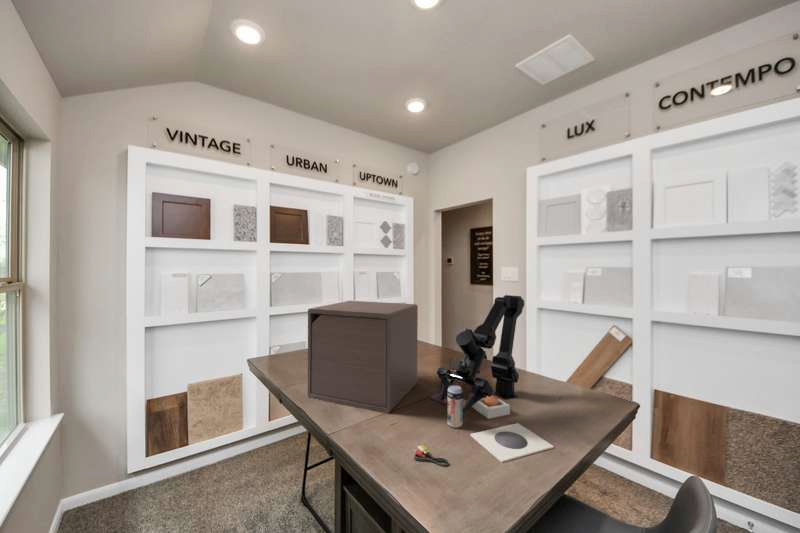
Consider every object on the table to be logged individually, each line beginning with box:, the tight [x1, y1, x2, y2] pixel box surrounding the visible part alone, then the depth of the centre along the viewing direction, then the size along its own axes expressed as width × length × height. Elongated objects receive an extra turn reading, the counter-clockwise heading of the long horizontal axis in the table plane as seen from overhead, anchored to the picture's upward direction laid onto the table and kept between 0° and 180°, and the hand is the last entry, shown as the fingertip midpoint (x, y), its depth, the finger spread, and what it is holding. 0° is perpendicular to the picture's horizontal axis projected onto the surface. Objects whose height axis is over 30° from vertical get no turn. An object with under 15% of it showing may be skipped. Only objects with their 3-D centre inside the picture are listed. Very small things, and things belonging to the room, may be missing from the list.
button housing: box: [471, 398, 511, 420], centre depth 111 cm, size 9×9×3 cm
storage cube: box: [306, 300, 419, 414], centre depth 128 cm, size 34×29×34 cm
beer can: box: [446, 384, 464, 429], centre depth 101 cm, size 5×5×12 cm
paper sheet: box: [469, 422, 555, 463], centre depth 92 cm, size 18×14×1 cm
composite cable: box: [412, 444, 449, 467], centre depth 83 cm, size 10×5×2 cm, turn 51°
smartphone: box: [429, 391, 467, 411], centre depth 119 cm, size 7×15×1 cm, turn 47°
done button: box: [483, 395, 499, 407], centre depth 111 cm, size 5×5×2 cm
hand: (452, 404), depth 100 cm, fingers open, 9 cm apart
